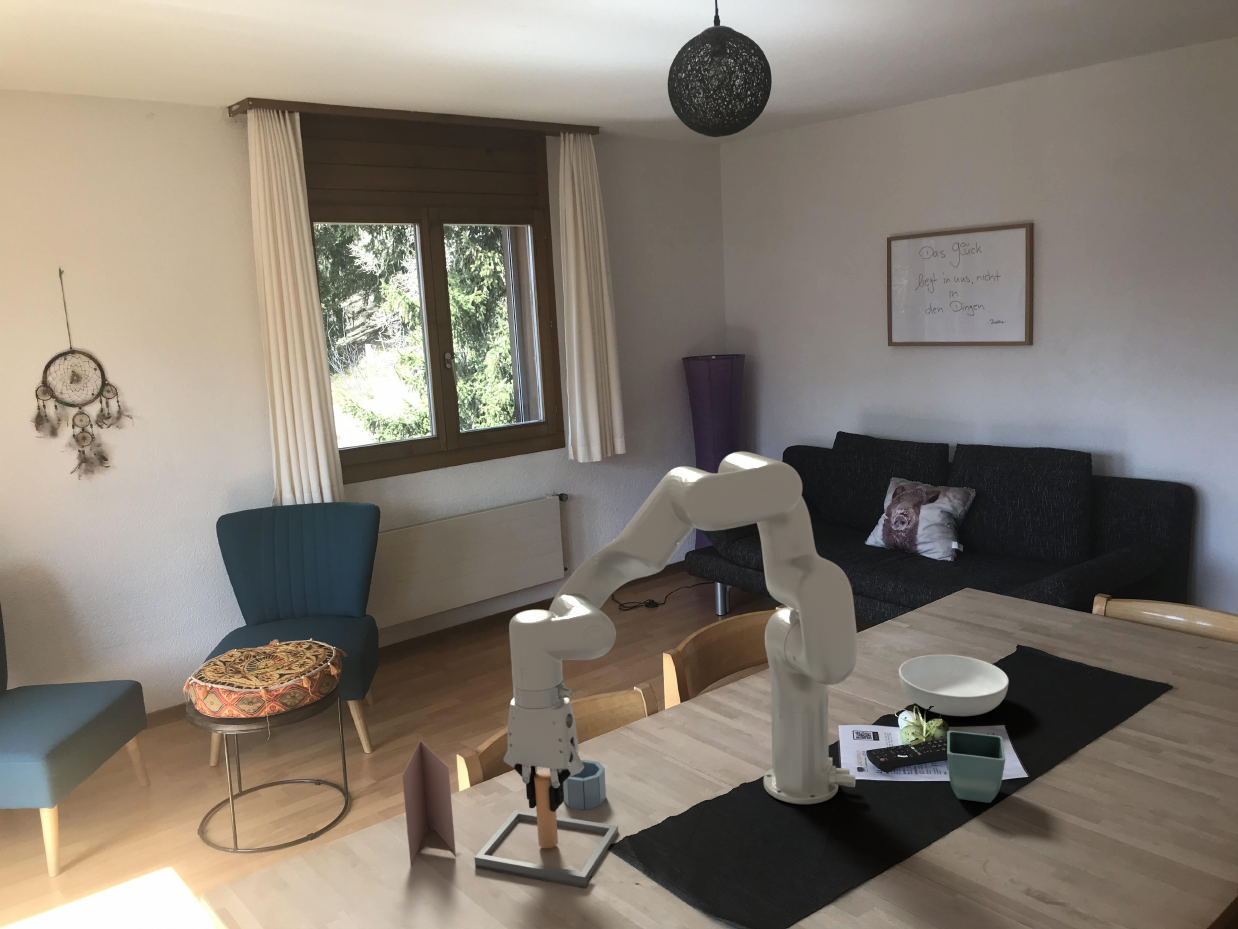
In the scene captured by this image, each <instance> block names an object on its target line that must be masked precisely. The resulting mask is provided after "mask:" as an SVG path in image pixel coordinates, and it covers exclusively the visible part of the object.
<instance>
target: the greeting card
mask: <svg viewBox="0 0 1238 929" xmlns="http://www.w3.org/2000/svg"><path fill="white" fill-rule="evenodd" d="M401 776H402V787H403V788H402V789H403V796H404V797H403V798H404V807H405V808H404V809H405V819H406V820H405V821H406V832H407V833H406V834H407V840H408V851H409V862H410V863H409V864H410V866H413V862H414V860H415V858H416V855H417V853H418V851H419V848H420V845H421V843H422V841H423V838H424V836H425V833H426V831H427V828H428V827H429V828H430V830H432V832H433V831H435V832H436V833H437V834H438V835H439V836H440V837H441V838H442V840H444V842H445V843H446V845H448V846H449V848H450V849H451V850H450V853H451V854H452V855H453V856H454V857H455V858H456V857H457V856H456V854H457V853H456V852H457V851H456V842H455V840H456V839H455V831H454V816H453V808H452V807H453V806H452V796H451V795H452V794H451V781H450V780H451V779H450V769H449V766H448V765H447V764H446V763H445V762H444V761H443V760H442V759H441V758H439V757H438V756H437V755H436V753H434V752H433V751H432V750H431V749H430V748H429V747H428V746H427V745H426V744H425V743H424V742H423V741H422V740H419V742H418V743H417V745H416V748H415V750H414V751H413V753H412V756H411V757H410V759H409V762H408V763H407V765H406V767H405V769H404V771H403V773H402V774H401Z"/></svg>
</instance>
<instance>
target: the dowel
mask: <svg viewBox="0 0 1238 929" xmlns="http://www.w3.org/2000/svg"><path fill="white" fill-rule="evenodd" d="M534 781H535V796H536V806H535V810H536V811H535V812H536V813H537V822H536V824H537V838H538V846H539V847H540V848H543V849H551V848H552V849H553V848H554V847H556V846H557V845H558V844H559V841H558V840H559V839H558V838H559V834H558V826H557V817H556V816H557V810H556V811H555V812H552V811H551V810H550V800H549V787H550V786H551V785H552V782H551V775H550V771H543V772H538V773H537V774H536V775H535V777H534Z"/></svg>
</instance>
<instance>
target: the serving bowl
mask: <svg viewBox="0 0 1238 929" xmlns="http://www.w3.org/2000/svg"><path fill="white" fill-rule="evenodd" d="M898 677H899V682H900V685H901V688H902V690H903V691H904V693H905V694H906V696H907V697H908V698H909V699H910V701H912V702H914V703H915V704H916V705H918V706H920V707H921V708H923V709H925V710H927V709H929V707H930V706H934V707H932V708H931V709H930V710H929V711H930V712H932V713H935V714H939V715H940V714H941V715H945V716H953V717H970V716H977V715H979V716H980V715H982V714H985V713H988V712H990V711H992V710H994V709H996V708H997V707H998V706H999V705H1000V704H1001V703H1002V701H1003V700H1004V699H1005V698H1006V695H1007V692H1008V688H1009V685H1010V684H1009V682H1010V680H1009V677H1008V675H1007V674H1006V672H1004V671H1003V670H1002V668H999V667H997V666H996V665H994V664H991V663H989V662H987V661H984V660H981V659H978V658H975V657H969V656H965V655H964V656H962V655H957V654H956V655H955V654H929V655H921V656H917V657H914V658H910V659H908V660H906V661H904V662H903V663H901V665H900V666H899V668H898Z"/></svg>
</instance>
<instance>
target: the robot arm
mask: <svg viewBox="0 0 1238 929" xmlns="http://www.w3.org/2000/svg"><path fill="white" fill-rule="evenodd" d="M802 494H803V482H802V478H801V477H800V474H799V473H798V472H797V470H795V468H794V467H792V466H791V465H789V464H788V463H786V462H783V461H781V460H777V459H774V458H770V457H766V456H764V455H760V454H756V453H754V452H753V453H752V452H750V451H749V452H748V451H736V452H732V453H730V454H728V455H726V456H725V457H724V458H723V459H722V460H721V462H720V463H719V466H718V470H717V473H715V472H713V473H712V472H708V471H706V470H704V469H703V470H702V469H699V468H696V467H693V466H678V467H674V468H672V469H671V470H670V471H668V472H667V473H666V474H665V475H664V476H663V477H662V479H661V480H660V481H659V482H658V484H656V487H655V488H654V489H653V490H652V492H651V493H650V494H649V496H647V498H646V499H645V501H644V502H643V503H642V505H641V506H640V507H639V509H638V510H637V511H636V512H635V514H634V515H633V517H632V518H631V520H630V521H629V522H628V523H627V524H626V526H625V527H624V528H623V530H622V531H621V532H620V533H619V534H618V536H617V537H615V539H614V540H612V541H610V542H608V543H607V544H606V545H604V546H603V547H602V548H601V549H599V550H598V551H597V552H595V553H593V554H592V555H591V556H590V557H588V558H587V559H586V560H584V561H583V562H582V563H581V564H580V565H579V566H578V567H577V568H576V569H575V571H573V573H572V574H571V575H570V576H569V577H568V579H567V580H566V581H565V583H564V584H563V585H562V587H561V588H560V590H559V591H558V592H557V594H556V595H555V597H554V599H553V600H552V602H551V604H550V607H549V610H547V609H546V610H545V609H529V610H528V609H527V610H523V611H520V612H518V613H516V614H515V615H514V616H512V618H511V619H510V621H509V624H508V628H509V629H508V630H509V631H508V633H509V645H510V646H509V647H510V655H511V656H510V660H511V677H512V678H511V679H512V688H513V698H512V699H511V701H510V705H509V711H508V720H507V751H506V752H505V755H504V756H503V762H504V763H505V764H507V765H508V766H510V767H512V768H514V770H515V771H516V773H518V774H519V776H520V777H521V780H522V783H523V784H525V788H526V789H525V790H526V792H525V793H526V799H527V800H528V808H529V809H534V808H535V809H536V796H535V781H534V777H535V775H536V774H538V773H537V772H538V771H537V770H538V768H545V769H549V772H550V775H551V782H552V785H551V786H550V787H549V800H550V810H551V811H552V812H555V811H556V812H557V810H558V809H559V808H560V806H561V805H562V804H563V803H564V787H563V782H564V781H565V780H566V779H567V778H568V777H570V776H573V775H575V774H578V773H580V772H581V771H582V770H583V768H584V765H583V763H582V761H581V760H582V759H581V758H580V756H579V740H578V733H577V732H578V730H577V724H576V719H575V714H574V711H573V707H572V703H571V700H570V698H571V697H572V693H573V690H572V688H569V687H566V686H565V680H564V677H563V676H564V675H563V661H574V660H575V661H583V660H584V661H586V660H587V661H589V660H596V659H598V658H601V657H603V656H605V655H606V654H608V653H609V652H610V651H611V649H612V648H613V646H614V645H615V642H616V639H617V638H616V637H617V635H616V634H617V633H616V627H615V625H614V623H613V622H612V619H610V618H609V617H608V615H607V614H605V612H603V611H602V610H600V609H601V608H602V606H603V605H604V604H605V602H606V601H607V600H608V599H609V598H610V596H612V594H613V593H614V592H616V591H617V589H619V588H620V587H622V586H623V585H625V584H626V583H628V582H631V581H633V580H637V579H641V578H645V577H649V576H651V575H655V574H657V573H659V572H661V571H662V570H664V569H665V567H666V566H667V564H668V563H669V562H670V561H671V559H672V558H673V556H674V555H675V554H676V552H677V551H678V549H679V548H680V547H681V545H682V544H683V543H684V542H685V540H686V539H687V538H688V536H689V535H690V534H691V533H692V531H693V530H694V528H695V529H698V530H701V531H706V532H713V531H715V532H716V531H723V530H729V529H734V528H738V527H739V528H740V527H745V526H749V525H753V524H757V525H756V526H757V529H758V532H759V538H760V543H761V544H760V546H761V553H762V561H763V562H762V563H763V569H764V571H763V572H764V578H765V585H766V589H767V592H769V595H770V596H771V598H773V599H774V600H775V601H777V602H779V603H780V604H782V605H784V606H785V607H783V608H782V607H781V608H780V609H778V610H777V611H775V612H774V613H773V614H772V615H771V616H770V618H769V620H768V621H767V623H766V626H765V630H764V631H765V632H764V645H765V646H764V647H765V651H766V657H767V662H768V667H769V674H770V675H769V676H770V677H769V678H770V695H771V696H770V699H771V700H770V706H771V707H770V709H771V710H770V713H771V714H770V715H771V762H772V763H771V764H772V767H771V768H769V770H767V771H766V772H765V774H764V776H763V787H764V789H765V791H766V792H767V793H768V794H769V795H770V796H772V797H773V798H775V799H777V800H779V801H782V802H785V803H790V804H794V805H795V804H796V805H814V804H818V803H823V802H827V801H828V800H831V799H832V798H833V797H834V796H835V795H837V792H838V791H839V786H844V787H849V788H855V786H856V775H854V774H851V773H850V772H851V771H850V770H851V769H850V768H843V767H842V768H841V767H840V768H839V767H837V766H836V765H833V757H829V756H830V755H829V748H830V746H829V686H832V685H837V684H841V683H842V682H844V681H845V680H847V679H848V678H849V677H850V675H851V674H852V673H853V671H854V669H855V666H856V663H857V660H858V653H859V652H858V648H859V646H858V636H857V633H858V632H857V624H856V623H857V622H856V613H855V606H854V605H855V604H854V595H853V589H852V585H851V582H850V580H849V578H848V576H847V575H846V573H845V572H844V570H843V569H842V568H841V567H840V566H838V564H836V563H834V562H833V561H830V560H828V559H826V558H824V557H822V556H820V555H819V554H818V552H817V549H816V546H815V545H816V544H815V540H814V532H813V528H812V522H811V515H810V512H809V509H808V506H807V504H806V501H805V500H804V497H803V496H802ZM569 763H570V764H571V766H569Z"/></svg>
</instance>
